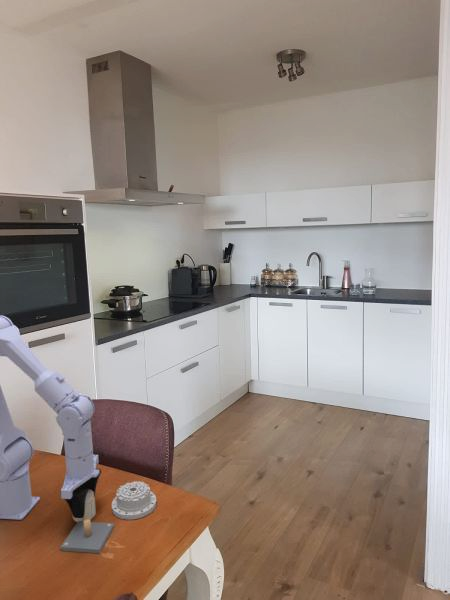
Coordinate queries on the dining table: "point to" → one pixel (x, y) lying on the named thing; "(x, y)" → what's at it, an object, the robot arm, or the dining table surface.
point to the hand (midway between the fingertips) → (83, 509)
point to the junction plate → (87, 536)
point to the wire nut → (88, 507)
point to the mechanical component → (133, 501)
